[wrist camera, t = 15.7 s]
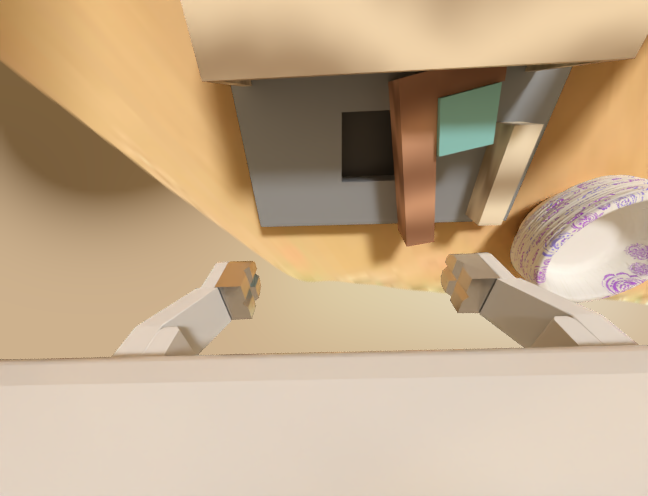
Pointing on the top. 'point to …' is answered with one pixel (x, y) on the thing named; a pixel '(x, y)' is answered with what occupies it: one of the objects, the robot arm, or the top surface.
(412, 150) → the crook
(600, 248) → the paper bowls
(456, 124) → the block
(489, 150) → the stick
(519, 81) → the board
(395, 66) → the shelf
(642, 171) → the top surface
